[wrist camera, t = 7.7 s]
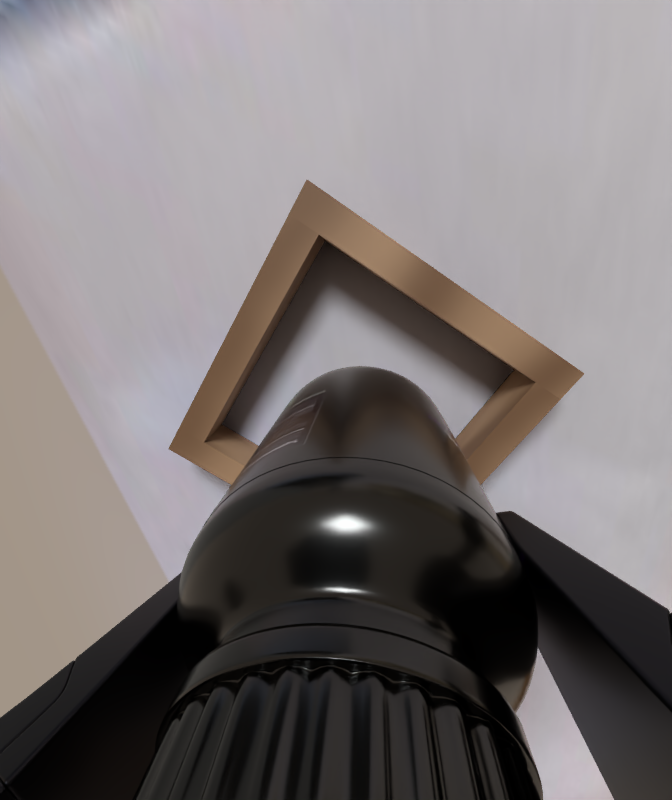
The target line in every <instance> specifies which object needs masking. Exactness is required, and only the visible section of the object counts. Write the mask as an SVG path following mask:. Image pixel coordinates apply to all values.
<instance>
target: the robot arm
mask: <svg viewBox="0 0 672 800" xmlns="http://www.w3.org/2000/svg"><path fill="white" fill-rule="evenodd" d="M496 514H497V516H498V518H499V520H500V522H501V524H502V525H503V527H504V529H505V531H506V533H507V535H508V536H509V538H510V540H511V542H512V544H513V546H514V548H515V550H516V552H517V554H518V556H519V558H520V561H521V563H522V565H523V567H524V569H525V572H526V574H527V576H528V578H529V581H530V584H531V587H532V590H533V594H534V597H535V602H536V608H537V614H538V648H539V650H540V652H541V654H542V656H543V658H544V660H545V662H546V664H547V666H548V668H549V670H550V672H551V674H552V676H553V678H554V680H555V682H556V684H557V686H558V688H559V690H560V692H561V694H562V696H563V698H564V700H565V702H566V704H567V706H568V708H569V710H570V712H571V714H572V716H573V718H574V720H575V722H576V724H577V726H578V728H579V730H580V732H581V734H582V736H583V738H584V740H585V742H586V744H587V746H588V748H589V750H590V752H591V754H592V756H593V758H594V760H595V762H596V764H597V766H598V768H599V770H600V772H601V774H602V776H603V778H604V780H605V782H606V784H607V786H608V788H609V790H610V792H611V794H612V796H613V798H614V800H672V613H670V612H669V610H668V609H667V608H665V607H664V606H662V605H661V604H659V603H657V602H656V601H654V600H653V599H651V598H649V597H648V596H646V595H645V594H643V593H641V592H640V591H638V590H637V589H635V588H634V587H632V586H630V585H629V584H627V583H626V582H624V581H622V580H621V579H619V578H618V577H616V576H614V575H613V574H611V573H610V572H608V571H606V570H605V569H603V568H602V567H600V566H599V565H597V564H595V563H594V562H592V561H591V560H589V559H587V558H586V557H584V556H583V555H581V554H579V553H578V552H576V551H575V550H573V549H572V548H570V547H568V546H567V545H565V544H564V543H562V542H560V541H559V540H557V539H556V538H554V537H552V536H551V535H549V534H548V533H546V532H545V531H543V530H541V529H540V528H538V527H537V526H535V525H533V524H532V523H530V522H529V521H527V520H525V519H524V518H522V517H521V516H519V515H517V514H516V513H514V512H512V511H506V512H498V513H496ZM181 573H182V572H181ZM181 573H180V574H179V575H178V576H176V577H175V578H174V579H173V580H172V581H170V582H169V583H168V584H167V585H165V586H164V587H163V588H162V589H160V590H159V591H158V592H157V593H156V594H154V595H153V596H152V597H151V598H149V599H148V600H147V601H146V602H145V603H143V604H142V605H141V606H140V607H138V608H137V609H136V610H135V611H133V612H132V613H131V614H130V615H128V616H127V617H126V618H125V619H124V620H122V621H121V622H120V623H119V624H117V625H116V626H115V627H114V628H112V629H111V630H110V631H109V632H108V633H107V634H105V635H104V636H103V637H101V638H100V639H99V640H98V641H97V642H96V643H94V644H93V645H92V646H90V647H89V648H88V649H87V650H85V651H84V652H83V653H82V654H80V655H79V656H78V657H77V658H76V660H75V661H72V662H71V663H69V664H68V665H67V666H66V667H64V668H63V669H62V670H61V671H59V672H58V673H57V674H56V675H55V676H53V677H52V678H51V679H50V680H48V681H47V682H46V683H44V684H43V685H42V686H41V687H39V688H38V689H37V690H36V691H34V692H33V693H32V694H31V695H29V696H28V697H27V698H26V699H24V700H23V701H22V702H21V703H19V704H18V705H17V706H15V707H14V708H12V709H11V710H10V711H8V712H7V713H6V714H5V715H3V716H2V717H1V718H0V800H132V799H133V797H134V795H135V793H136V791H137V789H138V787H139V784H140V782H141V780H142V778H143V776H144V774H145V772H146V769H147V767H148V765H149V763H150V761H151V759H152V757H153V755H154V753H155V742H156V737H157V733H158V730H159V727H160V725H161V723H162V720H163V718H164V716H165V714H166V712H167V710H168V708H169V706H170V704H171V702H172V700H173V698H174V696H175V694H176V692H177V690H178V688H179V686H180V684H181V683H182V681H183V679H184V678H185V677H186V675H187V674H188V669H187V667H186V664H185V661H184V658H183V654H182V651H181V647H180V641H179V636H178V627H177V600H178V589H179V583H180V578H181Z"/></svg>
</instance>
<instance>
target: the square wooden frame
mask: <svg viewBox="0 0 672 800" xmlns="http://www.w3.org/2000/svg"><path fill="white" fill-rule="evenodd" d="M325 241H326V242H328V243H329V244H331V245H332V246H334V247H335V248H337V249H338V250H340V251H341V252H343V253H344V254H345V255H347V256H348V257H350V258H351V259H353V260H354V261H356V262H357V263H359V264H360V265H362V266H363V267H365V268H366V269H367V270H369V271H370V272H372V273H373V274H375V275H376V276H378V277H379V278H381V279H382V280H384V281H385V282H387V283H388V284H389V285H391V286H392V287H394V288H395V289H397V290H398V291H400V292H401V293H403V294H404V295H406V296H407V297H409V298H410V299H411V300H413V301H414V302H416V303H417V304H419V305H420V306H422V307H423V308H425V309H426V310H428V311H429V312H431V313H432V314H433V315H435V316H436V317H438V318H439V319H441V320H442V321H444V322H445V323H447V324H448V325H450V326H451V327H453V328H454V329H455V330H457V331H458V332H460V333H461V334H463V335H464V336H466V337H467V338H469V339H470V340H472V341H473V342H475V343H476V344H477V345H479V346H480V347H482V348H483V349H485V350H486V351H488V352H489V353H491V354H492V355H494V356H495V357H497V358H498V359H499V360H501V361H502V362H504V363H505V364H507V365H508V366H510V367H511V368H513V369H514V371H513V372H512V373H511V374H510V375H509V376H508V378H507V379H506V380H505V381H504V382H503V383H502V385H501V386H500V387H499V388H498V389H497V390H496V392H495V393H494V394H493V395H492V396H491V398H490V399H489V400H488V401H487V402H486V403H485V405H484V406H483V407H482V408H481V409H480V410H479V412H478V413H477V414H476V415H475V416H474V417H473V419H472V420H471V421H470V422H469V423H468V425H467V426H466V427H465V428H464V429H463V430H462V432H461V433H460V434H459V435H458V436H457V437H456V439H455V440H456V442H457V443H458V445H459V447H460V449H461V451H462V453H463V454H464V456H465V458H466V460H467V462H468V463H469V465H470V467H471V469H472V471H473V473H474V474H475V476H476V478H477V480H478V482H479V483H480V485H481V484H482V483H483V482H484V481H485V480H486V479H487V477H488V476H489V475H490V474H491V473H492V472H493V471H494V470H495V469H496V468H497V467H498V466H499V465H500V464H501V462H502V461H503V460H504V459H505V458H506V457H507V456H508V455H509V454H510V453H511V452H512V451H513V450H514V449H515V447H516V446H517V445H518V444H519V443H520V442H521V441H522V440H523V439H524V438H525V437H526V436H527V435H528V434H529V432H530V431H531V430H532V429H533V428H534V427H535V426H536V425H537V424H538V423H539V422H540V421H541V420H542V419H543V417H544V416H545V415H546V414H547V413H548V412H549V411H550V410H551V409H552V408H553V407H554V406H555V405H556V404H557V402H558V401H559V400H560V399H561V398H562V397H563V396H564V395H565V394H566V393H567V392H568V391H569V390H570V389H571V387H572V386H573V385H574V384H575V383H576V382H577V381H578V380H579V379H580V378H581V377H582V376H583V375H584V373H583V372H581V371H580V370H578V369H577V368H576V367H574V366H573V365H571V364H570V363H568V362H567V361H566V360H564V359H563V358H561V357H560V356H558V355H557V354H556V353H554V352H553V351H551V350H550V349H548V348H547V347H546V346H544V345H543V344H541V343H540V342H538V341H537V340H536V339H534V338H533V337H531V336H530V335H528V334H527V333H526V332H524V331H523V330H521V329H520V328H518V327H517V326H516V325H514V324H513V323H511V322H510V321H508V320H507V319H506V318H504V317H503V316H501V315H500V314H498V313H497V312H496V311H494V310H493V309H491V308H490V307H488V306H487V305H486V304H484V303H483V302H481V301H480V300H478V299H477V298H476V297H474V296H473V295H471V294H470V293H468V292H467V291H466V290H464V289H463V288H461V287H460V286H458V285H457V284H456V283H454V282H453V281H451V280H450V279H448V278H447V277H446V276H444V275H443V274H441V273H440V272H438V271H437V270H436V269H434V268H433V267H431V266H430V265H428V264H427V263H426V262H424V261H423V260H421V259H420V258H418V257H417V256H416V255H414V254H413V253H411V252H410V251H408V250H407V249H406V248H404V247H403V246H401V245H400V244H398V243H397V242H396V241H394V240H393V239H391V238H390V237H388V236H387V235H386V234H384V233H383V232H381V231H380V230H378V229H377V228H376V227H374V226H373V225H371V224H370V223H368V222H367V221H366V220H364V219H363V218H361V217H360V216H358V215H357V214H356V213H354V212H353V211H351V210H350V209H348V208H347V207H346V206H344V205H343V204H341V203H340V202H338V201H337V200H336V199H334V198H333V197H331V196H330V195H328V194H327V193H326V192H324V191H323V190H321V189H320V188H318V187H317V186H316V185H314V184H313V183H311V182H310V181H308V180H306V182H305V184H304V186H303V188H302V190H301V192H300V194H299V196H298V198H297V199H296V201H295V203H294V205H293V207H292V209H291V211H290V213H289V215H288V217H287V219H286V221H285V223H284V225H283V227H282V229H281V231H280V233H279V235H278V236H277V238H276V240H275V242H274V244H273V246H272V248H271V250H270V252H269V254H268V256H267V258H266V260H265V262H264V264H263V266H262V268H261V270H260V272H259V273H258V275H257V277H256V279H255V281H254V283H253V285H252V287H251V289H250V291H249V293H248V295H247V297H246V299H245V301H244V303H243V305H242V307H241V309H240V310H239V312H238V314H237V316H236V318H235V320H234V322H233V324H232V326H231V328H230V330H229V332H228V334H227V336H226V338H225V340H224V342H223V344H222V346H221V347H220V349H219V351H218V353H217V355H216V357H215V359H214V361H213V363H212V365H211V367H210V369H209V371H208V373H207V375H206V377H205V379H204V381H203V383H202V385H201V386H200V388H199V390H198V392H197V394H196V396H195V398H194V400H193V402H192V404H191V406H190V408H189V410H188V412H187V414H186V416H185V418H184V420H183V422H182V423H181V425H180V427H179V429H178V431H177V433H176V435H175V437H174V439H173V441H172V443H171V445H170V447H169V449H170V450H171V451H173V452H175V453H177V454H178V455H180V456H182V457H184V458H185V459H187V460H189V461H191V462H192V463H194V464H196V465H198V466H199V467H201V468H203V469H205V470H206V471H208V472H210V473H212V474H213V475H215V476H217V477H219V478H220V479H222V480H224V481H226V482H227V483H229V484H231V485H232V484H233V482H234V481H235V479H236V478H237V476H238V475H239V474H240V472H241V471H242V469H243V468H244V466H245V465H246V464H247V462H248V461H249V459H250V458H251V456H252V455H253V454H254V452H255V451H256V449H257V448H258V445H256V444H254V443H253V442H251V441H249V440H247V439H246V438H244V437H242V436H241V435H239V434H237V433H236V432H234V431H232V430H231V429H229V428H227V427H225V426H224V425H222V423H223V422H224V420H225V418H226V416H227V414H228V413H229V411H230V409H231V407H232V406H233V404H234V402H235V400H236V398H237V397H238V395H239V393H240V391H241V390H242V388H243V386H244V384H245V382H246V381H247V379H248V377H249V375H250V374H251V372H252V370H253V368H254V366H255V365H256V363H257V361H258V359H259V357H260V356H261V354H262V352H263V350H264V349H265V347H266V345H267V343H268V341H269V340H270V338H271V336H272V334H273V333H274V331H275V329H276V327H277V325H278V324H279V322H280V320H281V318H282V317H283V315H284V313H285V311H286V309H287V308H288V306H289V304H290V302H291V301H292V299H293V297H294V295H295V293H296V292H297V290H298V288H299V286H300V285H301V283H302V281H303V279H304V277H305V276H306V274H307V272H308V270H309V268H310V267H311V265H312V263H313V261H314V260H315V258H316V256H317V254H318V252H319V251H320V249H321V247H322V245H323V244H324V242H325Z"/></svg>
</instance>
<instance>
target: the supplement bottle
mask: <svg viewBox="0 0 672 800" xmlns="http://www.w3.org/2000/svg"><path fill="white" fill-rule="evenodd" d="M177 627H178V636H179V641H180V647H181V651H182V654H183V658H184V661H185V664H186V667H187V669H188V674H187V675H186V677H185V678H184V679H183V681H182V683H181V684H180V686H179V688H178V690H177V692H176V694H175V696H174V698H173V700H172V702H171V704H170V706H169V708H168V710H167V712H166V714H165V716H164V718H163V720H162V723H161V725H160V727H159V730H158V733H157V737H156V742H155V753H154V755H153V757H152V759H151V761H150V763H149V765H148V767H147V769H146V772H145V774H144V776H143V778H142V780H141V782H140V784H139V787H138V789H137V791H136V793H135V795H134V797H133V799H132V800H543V791H542V785H541V780H540V777H539V774H538V771H537V768H536V765H535V762H534V759H533V756H532V753H531V750H530V747H529V744H528V741H527V738H526V735H525V733H524V730H523V727H522V725H521V723H520V721H519V718H518V717H517V715H516V712H517V710H518V709H519V707H520V705H521V704H522V702H523V700H524V698H525V695H526V693H527V691H528V688H529V686H530V683H531V679H532V676H533V672H534V668H535V664H536V657H537V649H538V614H537V608H536V602H535V597H534V594H533V590H532V587H531V584H530V581H529V578H528V576H527V574H526V572H525V569H524V567H523V565H522V563H521V561H520V558H519V556H518V554H517V552H516V550H515V548H514V546H513V544H512V542H511V540H510V538H509V536H508V535H507V533H506V531H505V529H504V527H503V525H502V524H501V522H500V520H499V518H498V516H497V514H496V513H495V511H494V509H493V507H492V505H491V504H490V502H489V500H488V498H487V496H486V494H485V493H484V491H483V489H482V487H481V485H480V483H479V482H478V480H477V478H476V476H475V474H474V473H473V471H472V469H471V467H470V465H469V463H468V462H467V460H466V458H465V456H464V454H463V453H462V451H461V449H460V447H459V445H458V443H457V442H456V440H455V438H454V436H453V434H452V433H451V431H450V429H449V427H448V425H447V423H446V422H445V420H444V418H443V417H442V415H441V413H440V412H439V410H438V408H437V407H436V405H435V404H434V403H433V401H432V400H431V399H430V398H429V396H428V395H427V394H426V393H425V392H424V391H423V390H422V389H421V388H419V387H418V386H417V385H416V384H414V383H413V382H411V381H410V380H408V379H407V378H405V377H403V376H401V375H399V374H396V373H394V372H391V371H388V370H385V369H381V368H375V367H366V366H356V367H347V368H341V369H337V370H334V371H331V372H328V373H325V374H323V375H321V376H319V377H317V378H316V379H314V380H313V381H311V382H310V383H308V384H307V385H306V386H304V387H303V388H302V389H301V390H300V391H299V392H298V393H297V394H296V395H295V396H294V398H293V399H292V400H291V401H290V403H289V404H288V405H287V406H286V408H285V409H284V411H283V412H282V413H281V415H280V416H279V418H278V419H277V421H276V422H275V423H274V425H273V426H272V428H271V429H270V431H269V432H268V433H267V435H266V436H265V438H264V439H263V441H262V442H261V444H260V445H259V446H258V448H257V449H256V451H255V452H254V454H253V455H252V456H251V458H250V459H249V461H248V462H247V464H246V465H245V466H244V468H243V469H242V471H241V472H240V474H239V475H238V476H237V478H236V479H235V481H234V482H233V484H232V485H231V486H230V488H229V489H228V491H227V492H226V494H225V495H224V497H223V498H222V499H221V501H220V502H219V504H218V505H217V507H216V508H215V509H214V511H213V512H212V514H211V515H210V517H209V518H208V520H207V521H206V523H205V524H204V526H203V528H202V530H201V531H200V533H199V534H198V536H197V538H196V539H195V541H194V543H193V545H192V547H191V549H190V551H189V553H188V555H187V558H186V561H185V564H184V567H183V570H182V573H181V578H180V583H179V589H178V600H177Z"/></svg>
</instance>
